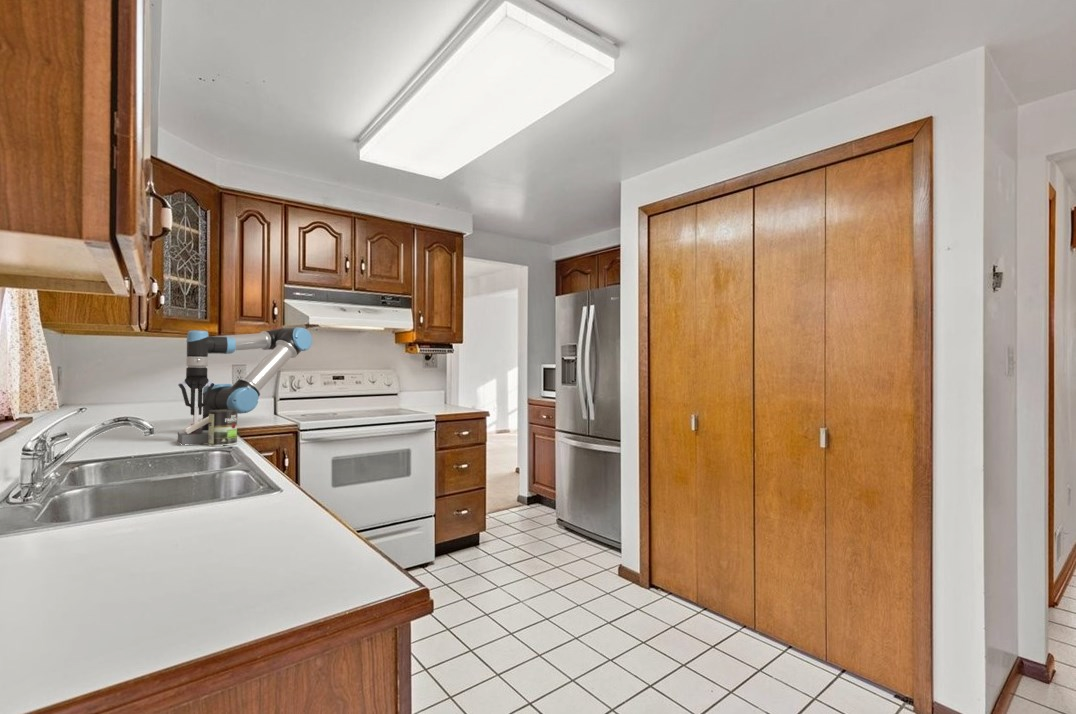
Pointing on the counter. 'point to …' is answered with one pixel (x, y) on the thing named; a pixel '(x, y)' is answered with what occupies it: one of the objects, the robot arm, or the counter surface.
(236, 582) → the counter surface
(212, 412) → the coffee can
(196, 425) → the bar
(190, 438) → the box
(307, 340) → the robot arm
